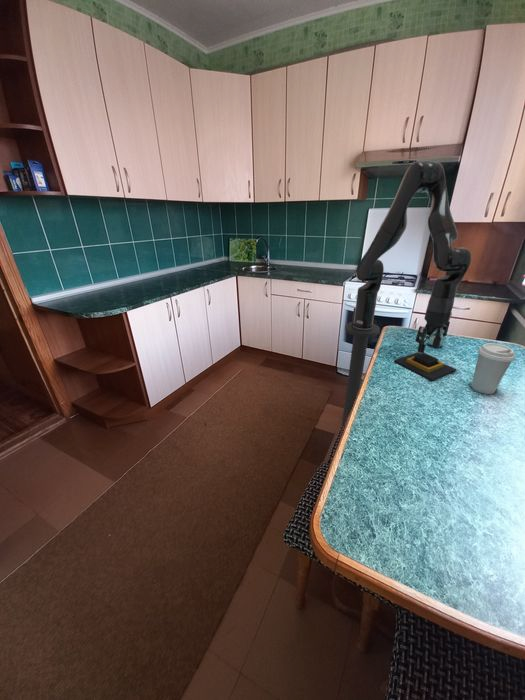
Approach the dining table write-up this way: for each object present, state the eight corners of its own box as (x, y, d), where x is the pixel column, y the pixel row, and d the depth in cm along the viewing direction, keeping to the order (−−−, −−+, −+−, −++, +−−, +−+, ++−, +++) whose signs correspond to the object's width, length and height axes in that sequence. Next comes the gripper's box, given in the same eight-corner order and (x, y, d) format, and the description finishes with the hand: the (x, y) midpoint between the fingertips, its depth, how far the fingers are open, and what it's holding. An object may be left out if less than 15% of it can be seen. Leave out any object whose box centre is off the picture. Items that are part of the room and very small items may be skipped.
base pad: (393, 362, 115) (395, 356, 113) (417, 354, 120) (418, 348, 119) (431, 381, 102) (433, 375, 101) (455, 371, 108) (457, 365, 106)
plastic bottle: (431, 348, 124) (443, 304, 116) (423, 342, 131) (434, 299, 122) (446, 348, 125) (459, 303, 116) (437, 341, 131) (449, 298, 122)
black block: (412, 362, 112) (414, 355, 111) (422, 359, 114) (423, 352, 113) (427, 369, 107) (429, 362, 106) (436, 365, 109) (438, 359, 108)
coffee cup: (473, 395, 94) (488, 354, 87) (461, 379, 103) (474, 341, 96) (506, 398, 93) (524, 356, 86) (491, 381, 101) (506, 343, 94)
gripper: (441, 302, 106) (430, 341, 114) (416, 308, 101) (406, 350, 108) (462, 308, 101) (449, 349, 108) (436, 315, 95) (424, 358, 102)
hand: (427, 349), depth 108 cm, fingers open, 8 cm apart
